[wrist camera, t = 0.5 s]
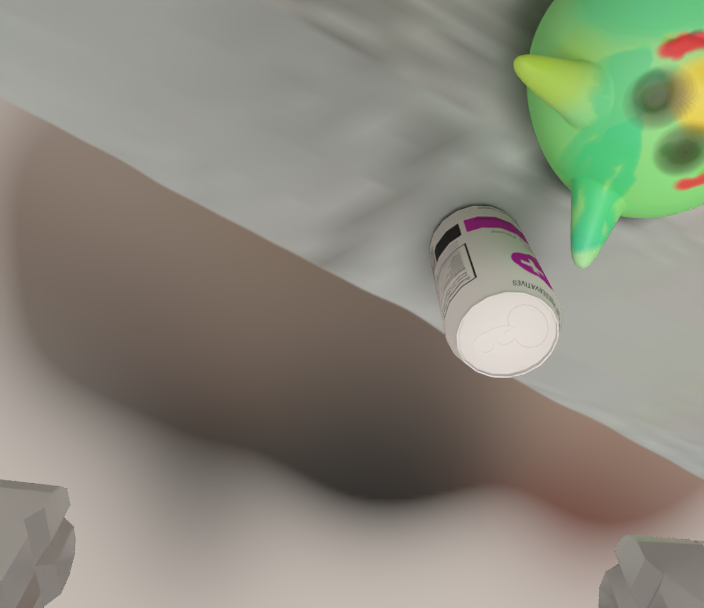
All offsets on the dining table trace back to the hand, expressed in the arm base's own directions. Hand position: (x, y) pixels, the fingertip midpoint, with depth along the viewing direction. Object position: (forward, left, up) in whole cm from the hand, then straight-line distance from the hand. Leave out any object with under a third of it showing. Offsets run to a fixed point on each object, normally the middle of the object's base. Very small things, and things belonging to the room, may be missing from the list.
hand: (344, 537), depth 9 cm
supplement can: (+14, +13, -46) cm, 50 cm away
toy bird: (-2, +19, -46) cm, 50 cm away
